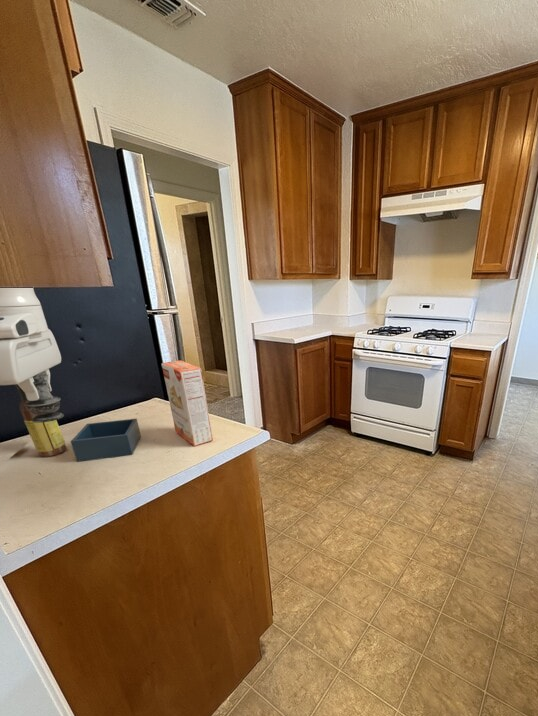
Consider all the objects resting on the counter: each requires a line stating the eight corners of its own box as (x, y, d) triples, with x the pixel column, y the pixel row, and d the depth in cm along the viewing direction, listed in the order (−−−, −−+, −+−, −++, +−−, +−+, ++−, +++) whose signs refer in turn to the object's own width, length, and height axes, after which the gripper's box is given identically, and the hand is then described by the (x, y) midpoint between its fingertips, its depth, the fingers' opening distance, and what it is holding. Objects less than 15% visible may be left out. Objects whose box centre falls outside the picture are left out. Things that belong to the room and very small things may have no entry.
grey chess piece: (59, 411, 75) (40, 354, 70) (70, 416, 72) (52, 357, 67) (25, 419, 71) (3, 359, 66) (36, 425, 67) (14, 362, 63)
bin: (77, 461, 88) (70, 441, 86) (92, 442, 99) (86, 423, 97) (132, 454, 91) (127, 435, 89) (141, 436, 102) (136, 418, 100)
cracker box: (174, 432, 105) (160, 362, 96) (194, 427, 108) (182, 359, 100) (192, 447, 95) (178, 370, 87) (213, 441, 98) (202, 366, 90)
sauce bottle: (64, 445, 97) (40, 374, 90) (69, 452, 93) (45, 378, 86) (35, 452, 93) (7, 379, 85) (39, 460, 89) (10, 384, 81)
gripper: (23, 318, 72) (44, 384, 78) (-42, 329, 54) (-8, 414, 60) (58, 317, 74) (77, 382, 79) (7, 328, 56) (36, 410, 61)
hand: (40, 396), depth 69 cm, fingers closed on grey chess piece, 3 cm apart
